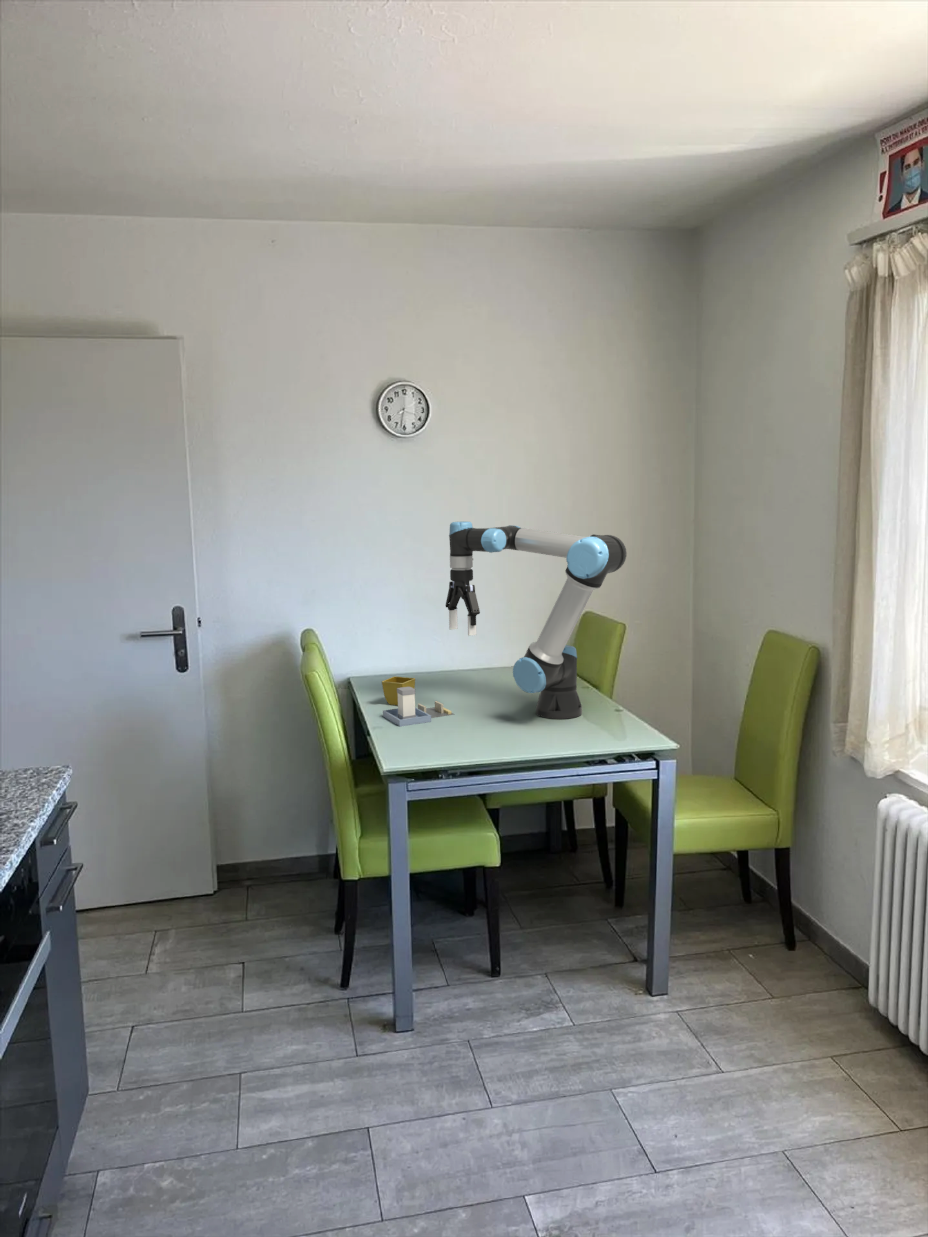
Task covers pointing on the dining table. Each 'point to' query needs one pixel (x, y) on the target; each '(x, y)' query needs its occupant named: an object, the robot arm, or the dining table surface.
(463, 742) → the dining table surface
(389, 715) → the tray
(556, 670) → the robot arm
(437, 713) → the block
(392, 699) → the flower pot
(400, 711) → the block
